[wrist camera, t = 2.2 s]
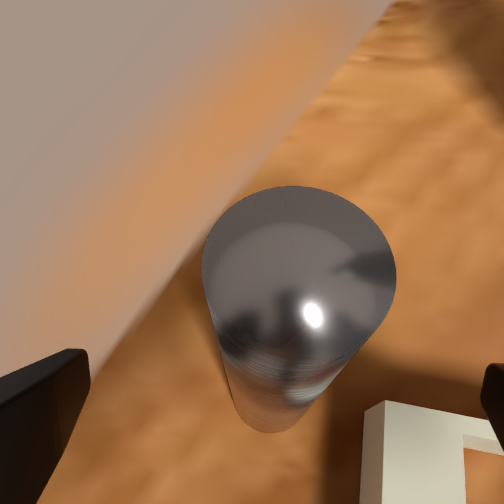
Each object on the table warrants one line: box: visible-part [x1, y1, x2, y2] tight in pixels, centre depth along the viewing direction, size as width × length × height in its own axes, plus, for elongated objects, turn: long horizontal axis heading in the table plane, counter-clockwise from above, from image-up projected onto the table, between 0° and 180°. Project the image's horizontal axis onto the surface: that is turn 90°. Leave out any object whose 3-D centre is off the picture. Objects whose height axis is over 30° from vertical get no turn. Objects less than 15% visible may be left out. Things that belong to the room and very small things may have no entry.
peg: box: [201, 186, 396, 433], centre depth 12 cm, size 3×3×12 cm
